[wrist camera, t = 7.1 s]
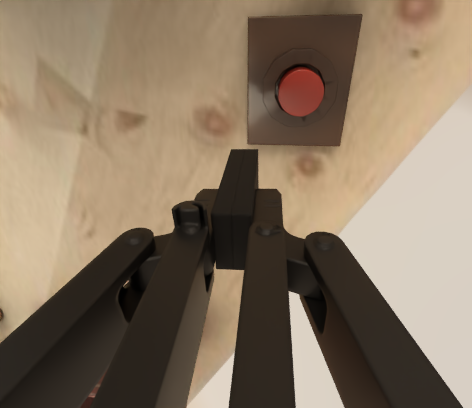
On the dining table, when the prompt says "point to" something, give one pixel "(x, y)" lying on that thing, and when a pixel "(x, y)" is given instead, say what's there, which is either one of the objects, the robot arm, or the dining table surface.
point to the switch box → (292, 56)
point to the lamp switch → (300, 91)
